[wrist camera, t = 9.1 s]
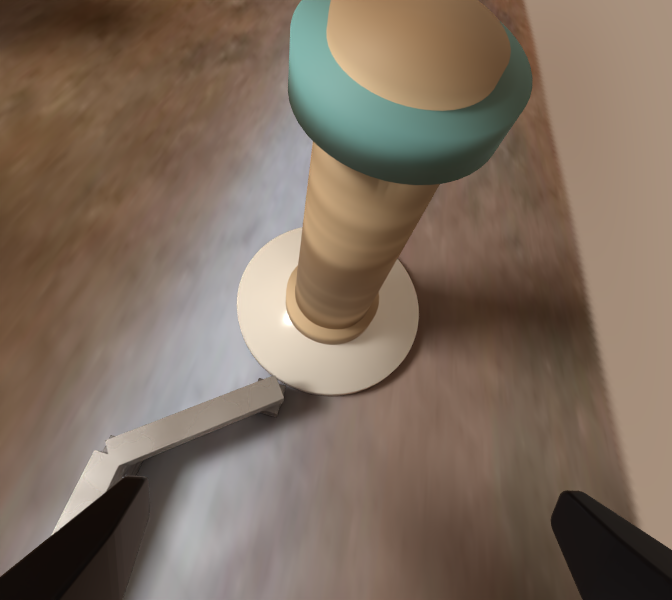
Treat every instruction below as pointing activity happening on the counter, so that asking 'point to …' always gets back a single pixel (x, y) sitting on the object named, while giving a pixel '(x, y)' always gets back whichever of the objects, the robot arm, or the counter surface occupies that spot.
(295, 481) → the counter surface
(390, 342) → the coaster
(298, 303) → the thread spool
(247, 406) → the rail
